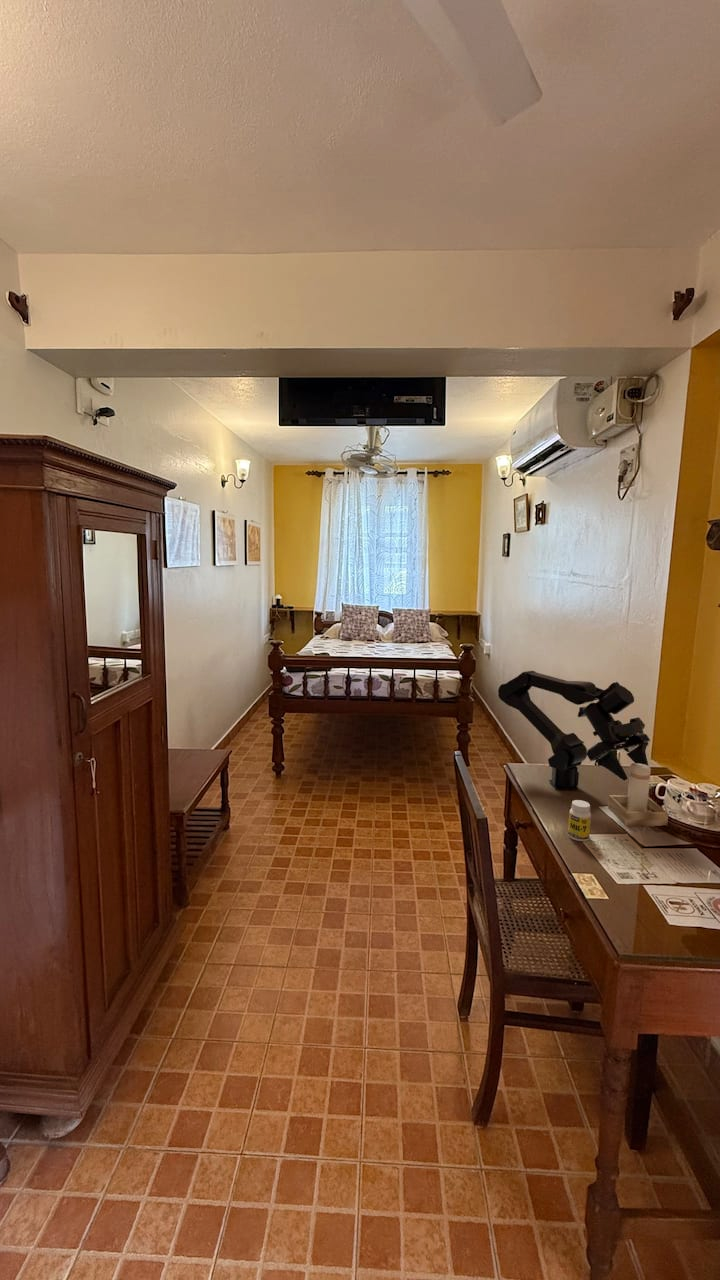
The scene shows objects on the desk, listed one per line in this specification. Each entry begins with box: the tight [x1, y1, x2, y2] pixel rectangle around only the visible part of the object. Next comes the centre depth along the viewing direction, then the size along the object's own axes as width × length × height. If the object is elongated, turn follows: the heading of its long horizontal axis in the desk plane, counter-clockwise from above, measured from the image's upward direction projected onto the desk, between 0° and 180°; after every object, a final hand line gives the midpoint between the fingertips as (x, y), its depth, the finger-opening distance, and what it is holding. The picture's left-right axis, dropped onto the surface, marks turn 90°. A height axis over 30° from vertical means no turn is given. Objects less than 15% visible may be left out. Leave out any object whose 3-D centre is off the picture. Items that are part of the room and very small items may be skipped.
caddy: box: [607, 794, 669, 828], centre depth 141 cm, size 10×10×4 cm
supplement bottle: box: [567, 799, 592, 842], centre depth 130 cm, size 5×5×8 cm
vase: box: [627, 762, 652, 812], centre depth 140 cm, size 5×5×13 cm
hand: (637, 776), depth 140 cm, fingers open, 9 cm apart
